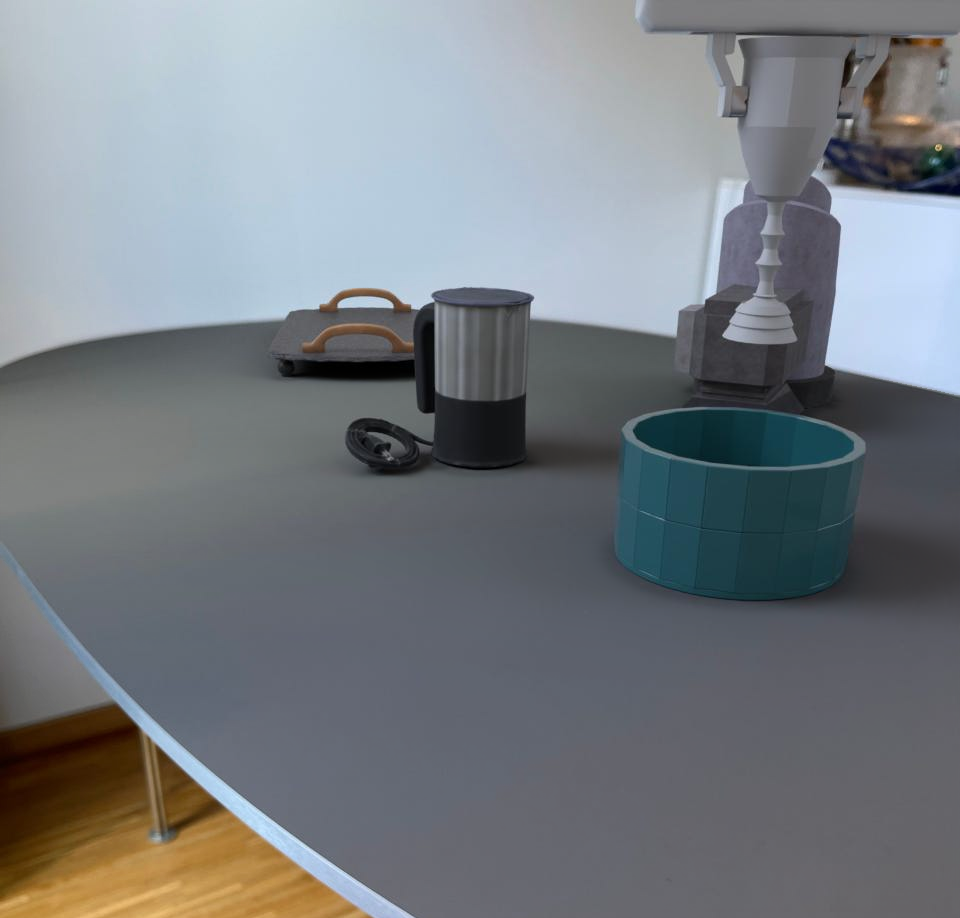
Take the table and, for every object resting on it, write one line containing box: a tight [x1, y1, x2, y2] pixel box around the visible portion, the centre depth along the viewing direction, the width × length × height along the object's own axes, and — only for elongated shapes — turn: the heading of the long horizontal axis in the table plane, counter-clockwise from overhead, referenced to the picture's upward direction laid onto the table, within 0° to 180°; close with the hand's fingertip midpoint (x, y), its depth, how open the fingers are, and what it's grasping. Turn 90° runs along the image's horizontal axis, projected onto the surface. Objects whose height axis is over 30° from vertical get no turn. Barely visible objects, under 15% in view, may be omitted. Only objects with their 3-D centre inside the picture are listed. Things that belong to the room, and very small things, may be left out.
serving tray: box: [266, 287, 420, 377], centre depth 145 cm, size 39×23×6 cm, turn 4°
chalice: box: [722, 36, 857, 344], centre depth 70 cm, size 7×7×18 cm
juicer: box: [673, 175, 842, 415], centre depth 117 cm, size 30×16×24 cm, turn 155°
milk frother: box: [344, 286, 535, 470], centre depth 97 cm, size 14×16×15 cm
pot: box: [613, 407, 867, 601], centre depth 77 cm, size 17×17×9 cm
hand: (788, 118), depth 68 cm, fingers closed on chalice, 6 cm apart
